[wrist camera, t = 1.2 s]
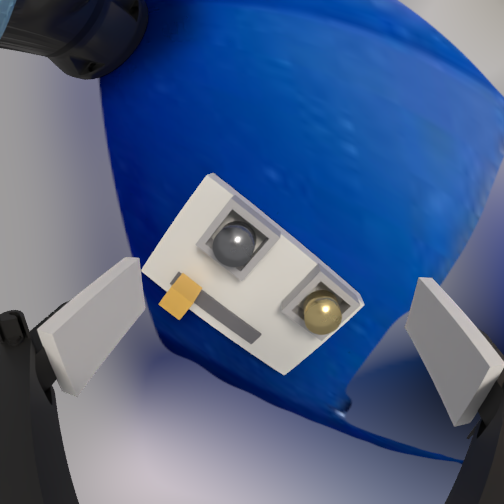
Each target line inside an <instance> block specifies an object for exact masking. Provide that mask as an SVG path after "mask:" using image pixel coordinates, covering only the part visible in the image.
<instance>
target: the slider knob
mask: <svg viewBox="0 0 504 504" xmlns="http://www.w3.org/2000/svg"><path fill="white" fill-rule="evenodd" d="M201 290H202V287H201V286H199V285H198V284H197V283H195V282H194V281H193V280H192V279H190V278H189V277H188V276H186V275H185V274H184V273H182V274H181V275H180V277H179V278H178V279H177V280H176V281H175V283H174V284H173V285H172V286H171V288H170V289H169V290H168V292H167V293H166V294H165V296H164V297H163V299H162V300H161V301H160V303H159V305H160V306H161V307H163V308H164V309H165V310H167V311H168V312H169V313H170V314H172V315H173V316H174V317H176V318H177V319H178V320H180V319H181V318H182V317H183V315H184V314H185V313H186V312H187V310H188V309H189V308H190V307H191V306H192V304H193V303H194V301H195V300H196V298H197V296H198V295H199V293H200V291H201Z"/></svg>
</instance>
